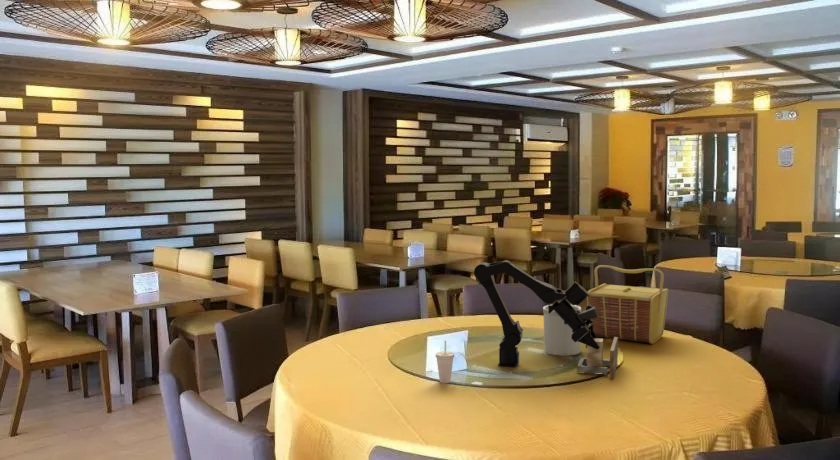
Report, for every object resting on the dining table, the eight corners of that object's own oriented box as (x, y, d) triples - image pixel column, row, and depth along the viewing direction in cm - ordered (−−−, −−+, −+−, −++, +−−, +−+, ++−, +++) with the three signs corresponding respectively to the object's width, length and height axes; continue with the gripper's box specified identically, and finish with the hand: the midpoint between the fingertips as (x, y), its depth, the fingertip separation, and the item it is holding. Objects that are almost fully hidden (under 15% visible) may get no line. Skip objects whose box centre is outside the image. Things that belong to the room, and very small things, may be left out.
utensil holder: (538, 354, 277) (539, 309, 275) (547, 345, 290) (547, 302, 289) (577, 357, 271) (577, 312, 270) (583, 348, 285) (584, 304, 283)
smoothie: (456, 379, 245) (456, 339, 244) (451, 385, 239) (451, 344, 238) (438, 378, 247) (438, 338, 246) (433, 383, 241) (432, 342, 240)
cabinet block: (585, 365, 254) (585, 340, 253) (586, 362, 258) (587, 337, 258) (601, 367, 252) (602, 342, 251) (602, 363, 257) (603, 338, 256)
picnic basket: (670, 335, 305) (671, 265, 303) (654, 348, 284) (656, 273, 281) (603, 327, 321) (604, 260, 318) (583, 339, 299) (584, 268, 297)
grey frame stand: (575, 376, 248) (575, 347, 247) (582, 361, 266) (582, 334, 266) (613, 379, 243) (613, 350, 243) (617, 363, 262) (617, 337, 261)
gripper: (581, 304, 245) (614, 338, 243) (587, 294, 263) (618, 326, 260) (558, 325, 249) (590, 359, 246) (565, 314, 266) (595, 346, 264)
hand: (599, 346), depth 254 cm, fingers closed on cabinet block, 5 cm apart
